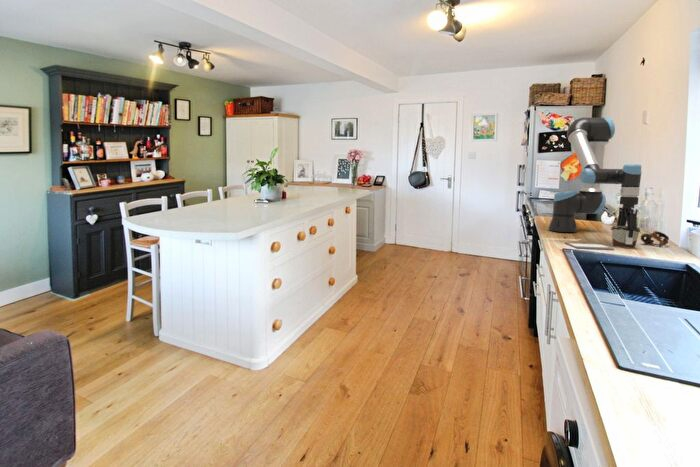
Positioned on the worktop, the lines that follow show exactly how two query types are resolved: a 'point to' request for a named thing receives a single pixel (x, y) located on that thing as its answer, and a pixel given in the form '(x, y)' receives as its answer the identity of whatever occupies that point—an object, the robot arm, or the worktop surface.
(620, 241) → the food container
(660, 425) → the worktop surface
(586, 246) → the board
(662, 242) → the brown looped knot
